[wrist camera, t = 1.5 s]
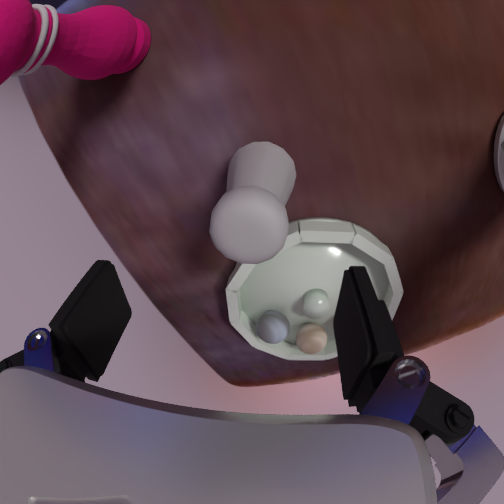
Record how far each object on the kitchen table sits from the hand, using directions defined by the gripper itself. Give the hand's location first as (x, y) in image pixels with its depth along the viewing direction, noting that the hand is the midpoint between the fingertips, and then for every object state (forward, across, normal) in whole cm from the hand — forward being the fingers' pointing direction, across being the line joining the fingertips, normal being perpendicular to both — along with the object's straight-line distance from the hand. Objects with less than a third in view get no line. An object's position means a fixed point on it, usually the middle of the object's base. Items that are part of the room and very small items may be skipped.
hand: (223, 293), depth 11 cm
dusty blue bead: (+16, -3, +18) cm, 24 cm away
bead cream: (+16, -7, +20) cm, 27 cm away
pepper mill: (+18, +12, -14) cm, 26 cm away
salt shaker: (+17, -1, 0) cm, 17 cm away
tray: (+17, -7, +15) cm, 24 cm away
